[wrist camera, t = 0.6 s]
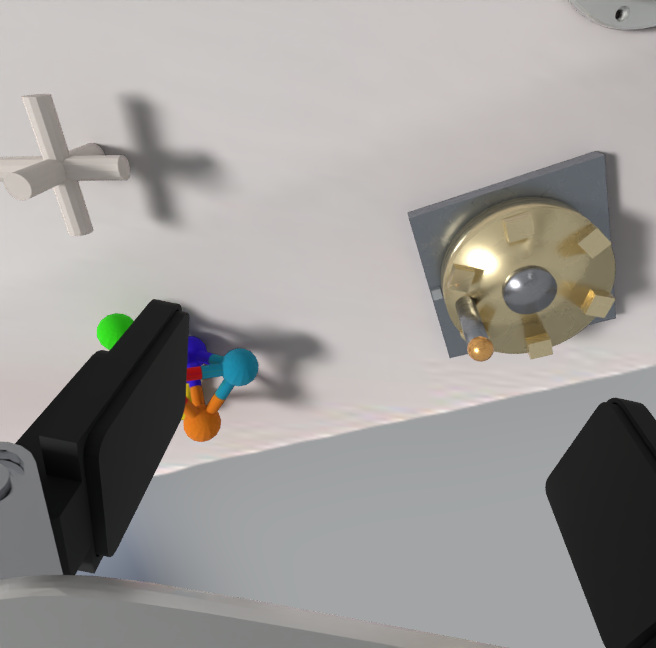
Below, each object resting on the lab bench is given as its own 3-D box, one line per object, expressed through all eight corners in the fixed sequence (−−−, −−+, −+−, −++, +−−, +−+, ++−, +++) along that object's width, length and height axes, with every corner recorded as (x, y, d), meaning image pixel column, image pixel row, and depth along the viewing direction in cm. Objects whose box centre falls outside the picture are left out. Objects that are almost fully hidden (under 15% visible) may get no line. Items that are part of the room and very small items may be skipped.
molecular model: (239, 388, 56) (273, 340, 44) (205, 464, 51) (233, 433, 39) (119, 335, 53) (120, 268, 41) (71, 409, 48) (56, 357, 36)
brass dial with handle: (592, 173, 35) (666, 219, 26) (604, 313, 41) (667, 388, 32) (424, 227, 38) (439, 283, 30) (458, 349, 44) (479, 425, 36)
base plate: (596, 150, 36) (606, 156, 34) (608, 309, 43) (617, 320, 41) (407, 212, 40) (409, 220, 38) (447, 349, 47) (450, 360, 45)
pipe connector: (136, 86, 36) (63, 102, 28) (164, 211, 41) (110, 256, 33) (15, 90, 37) (-90, 106, 28) (58, 212, 42) (-21, 256, 34)
